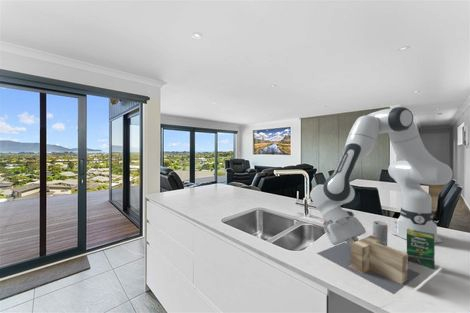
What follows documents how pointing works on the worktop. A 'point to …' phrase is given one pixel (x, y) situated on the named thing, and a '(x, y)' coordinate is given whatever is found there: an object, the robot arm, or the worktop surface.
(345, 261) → the mat
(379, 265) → the t block
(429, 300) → the worktop surface
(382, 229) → the energy drink
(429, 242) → the coffee box
